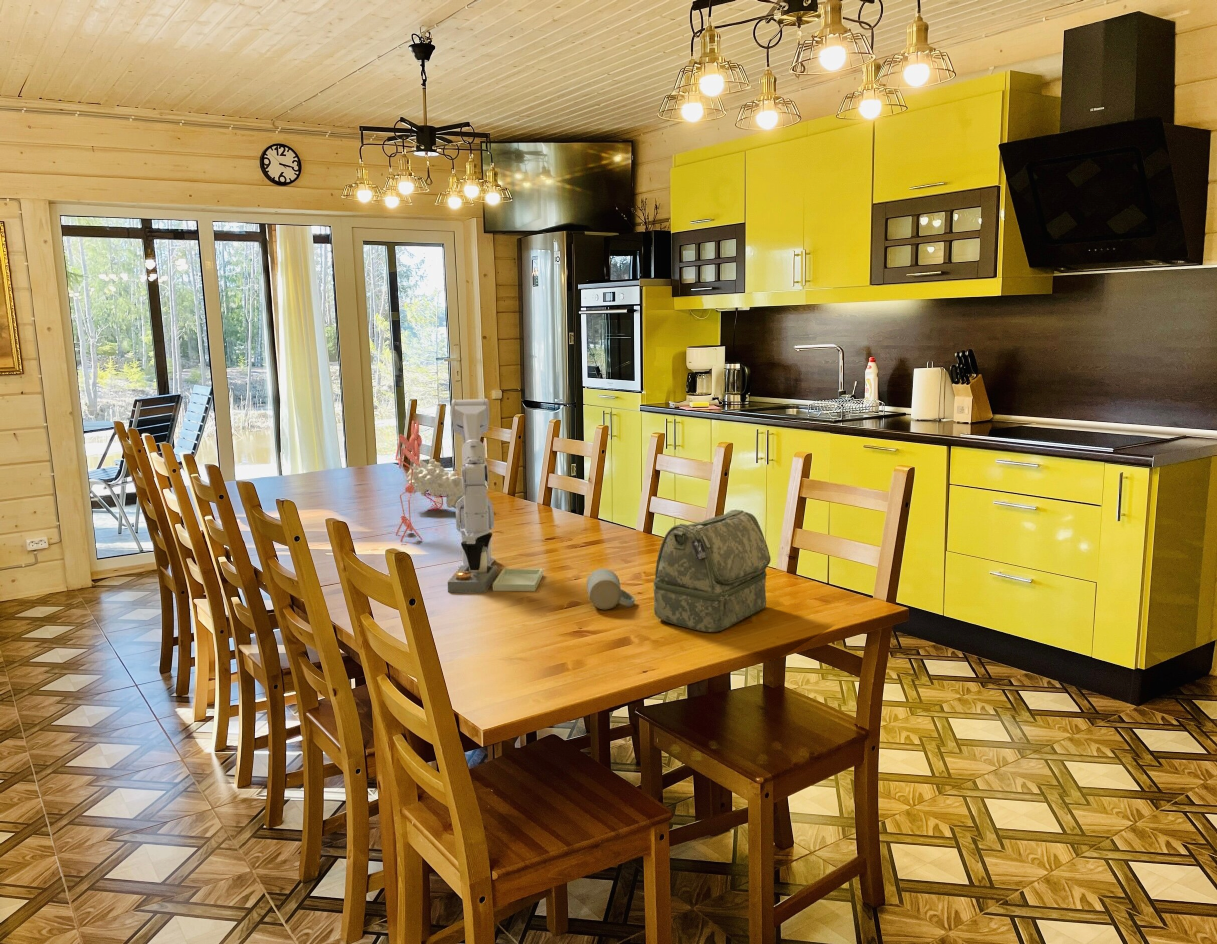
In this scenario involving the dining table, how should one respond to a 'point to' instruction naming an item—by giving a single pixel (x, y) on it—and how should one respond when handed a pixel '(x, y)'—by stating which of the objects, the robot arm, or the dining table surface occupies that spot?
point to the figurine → (414, 457)
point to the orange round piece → (463, 575)
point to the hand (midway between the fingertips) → (477, 565)
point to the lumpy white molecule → (436, 483)
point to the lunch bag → (711, 572)
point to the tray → (518, 580)
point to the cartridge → (482, 562)
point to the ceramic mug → (607, 590)
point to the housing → (473, 580)
